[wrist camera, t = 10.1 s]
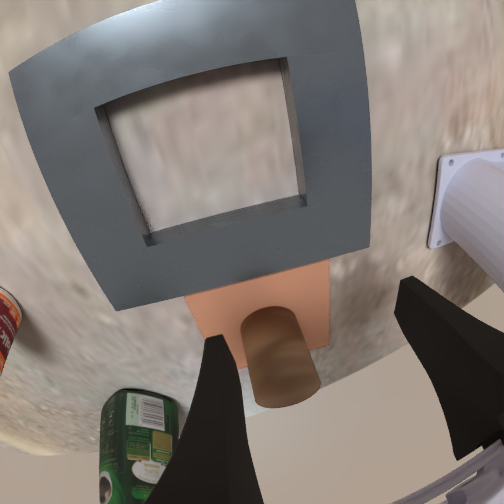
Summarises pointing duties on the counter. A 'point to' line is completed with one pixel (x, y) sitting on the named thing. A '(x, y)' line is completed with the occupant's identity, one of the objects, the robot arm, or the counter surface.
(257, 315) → the brown wooden cylinder
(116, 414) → the coffee jar
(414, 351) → the robot arm
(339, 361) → the counter surface
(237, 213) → the grey square frame
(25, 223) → the counter surface
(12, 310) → the pill bottle
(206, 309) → the mat
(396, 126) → the counter surface
